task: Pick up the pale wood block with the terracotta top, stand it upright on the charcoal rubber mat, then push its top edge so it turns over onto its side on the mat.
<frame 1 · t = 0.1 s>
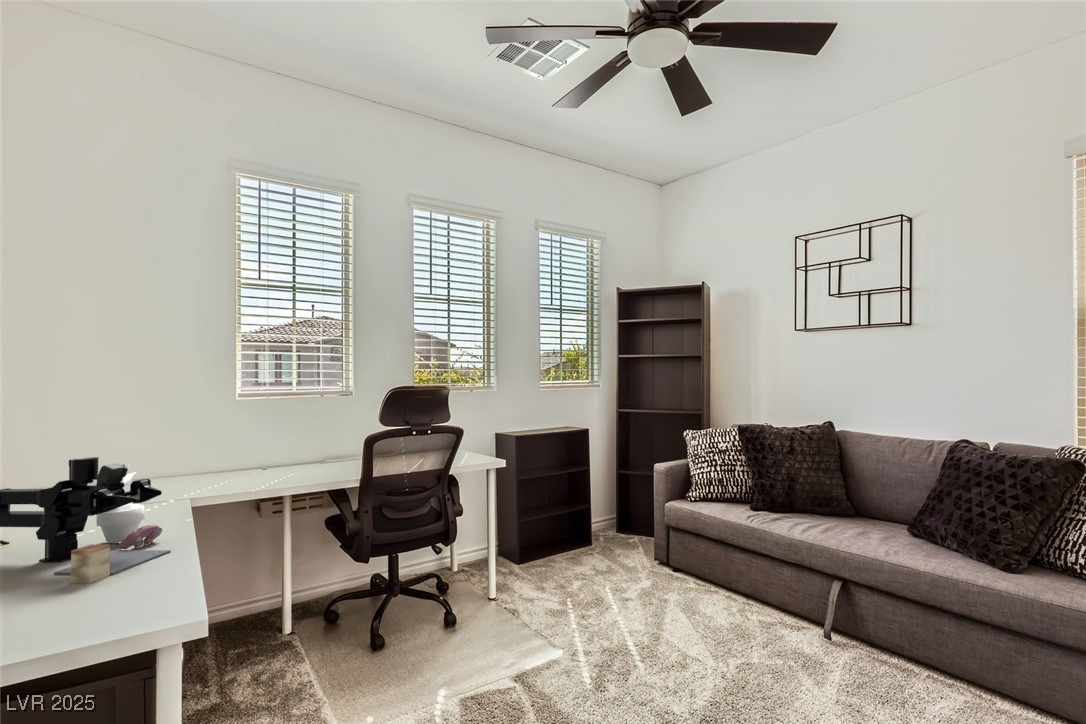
hand: (147, 496, 146), 17 cm above the table, tool horizontal, fingers open, 9 cm apart
video game controller: (141, 546, 158), on the table
rubber mat: (115, 562, 143), on the table
tall block: (90, 579, 130), on the table
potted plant: (122, 541, 164), on the table
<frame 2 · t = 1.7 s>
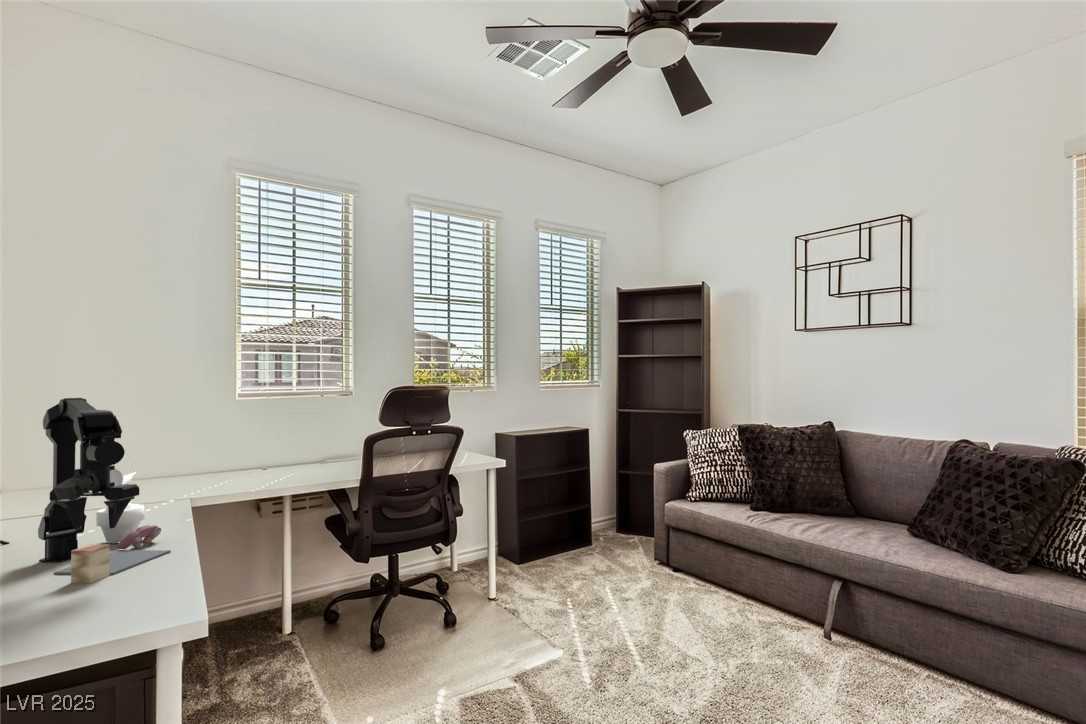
hand: (94, 528, 132), 12 cm above the table, tool pointing down, fingers open, 9 cm apart
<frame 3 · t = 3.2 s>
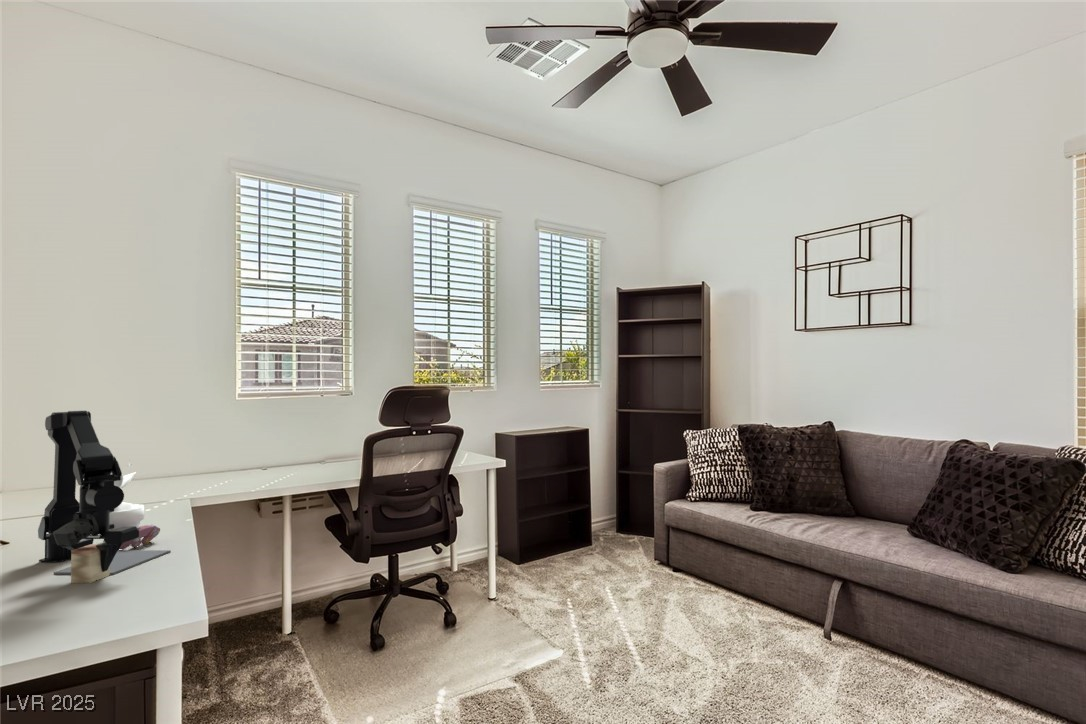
hand: (94, 571, 131), 2 cm above the table, tool pointing down, fingers closed on tall block, 5 cm apart
tall block: (90, 579, 130), on the table, touching gripper
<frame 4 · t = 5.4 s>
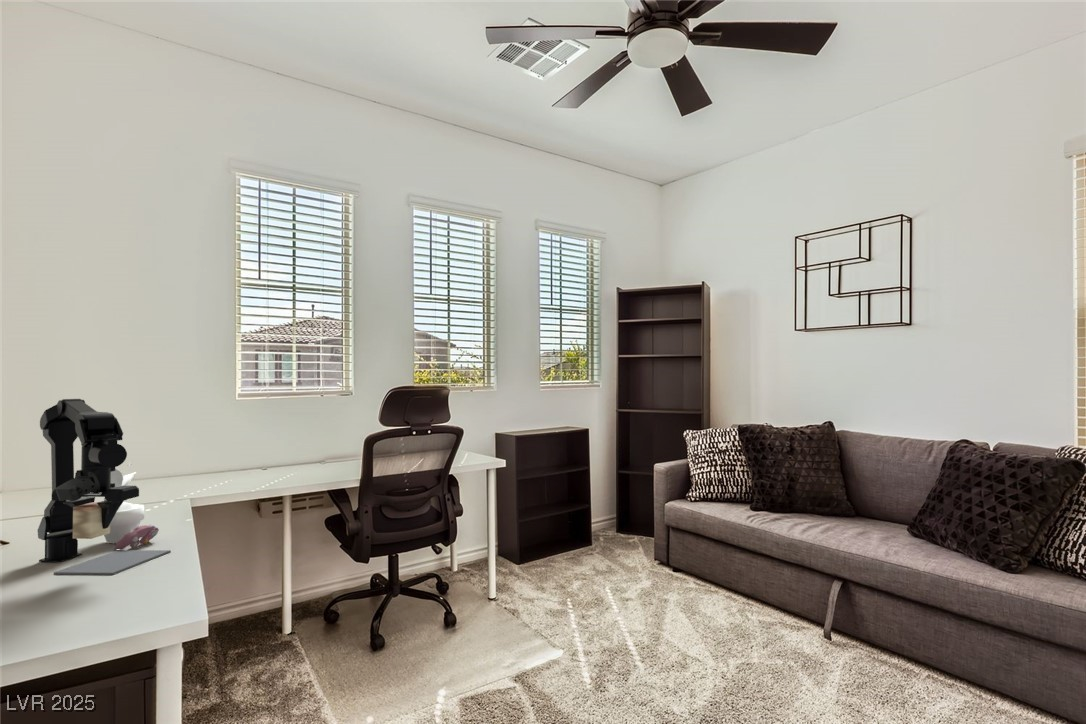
hand: (95, 528, 135), 11 cm above the table, tool pointing down, fingers closed on tall block, 5 cm apart
tall block: (91, 535, 134), point 10 cm above the table, touching gripper
when the fingers open (3 cm above the table, at t = 7.8 s): tall block stays where it is, resting on rubber mat.
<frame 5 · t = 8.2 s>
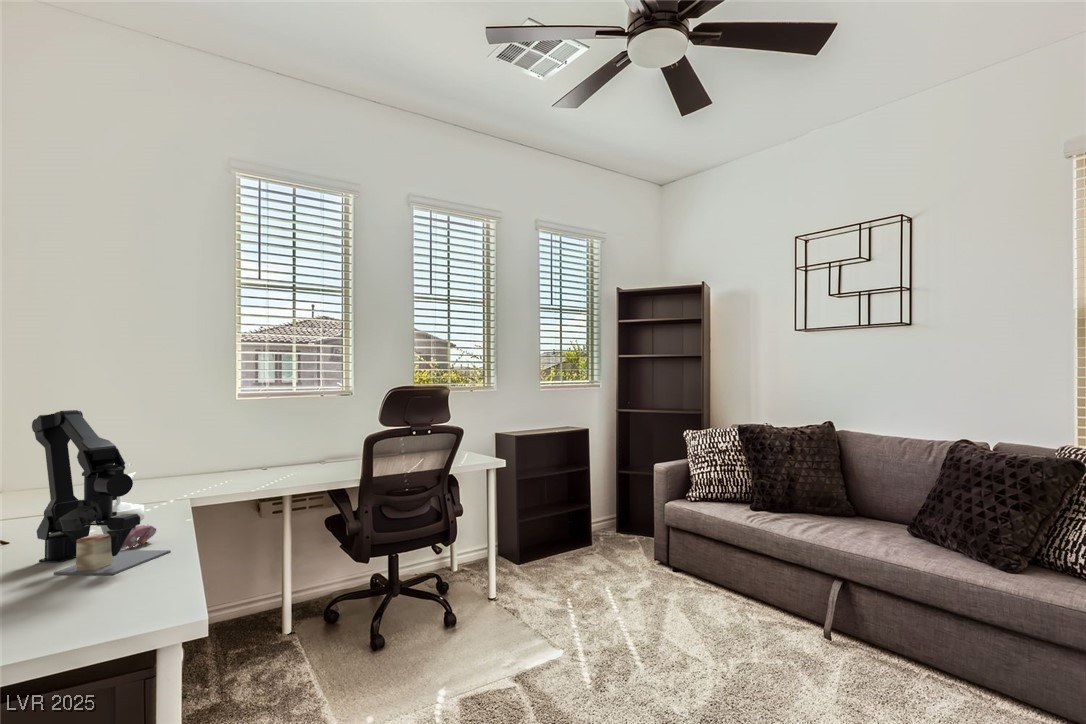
hand: (98, 555, 139), 3 cm above the table, tool pointing down, fingers open, 9 cm apart
tall block: (94, 566, 138), resting on rubber mat
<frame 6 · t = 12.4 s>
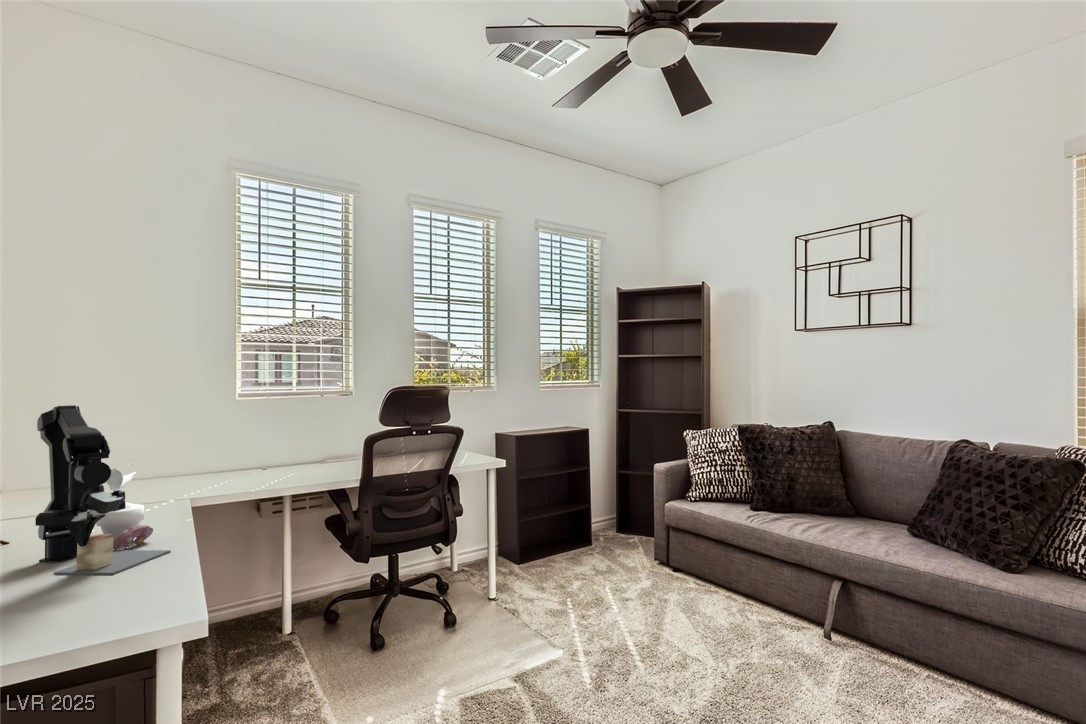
hand: (82, 546, 135), 7 cm above the table, tool pointing down, fingers closed
tall block: (94, 566, 138), point 1 cm above the table, touching gripper, rubber mat
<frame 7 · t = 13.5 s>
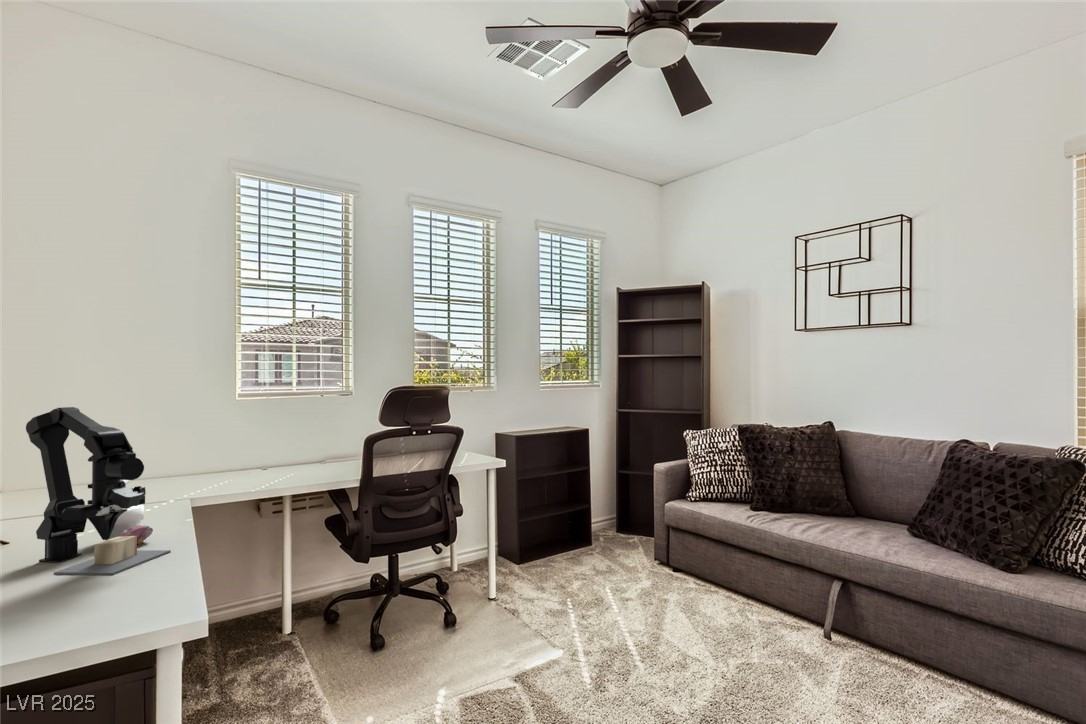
hand: (105, 539, 141), 6 cm above the table, tool pointing down, fingers closed
tall block: (103, 553, 141), point 3 cm above the table, tilted 90°, touching rubber mat
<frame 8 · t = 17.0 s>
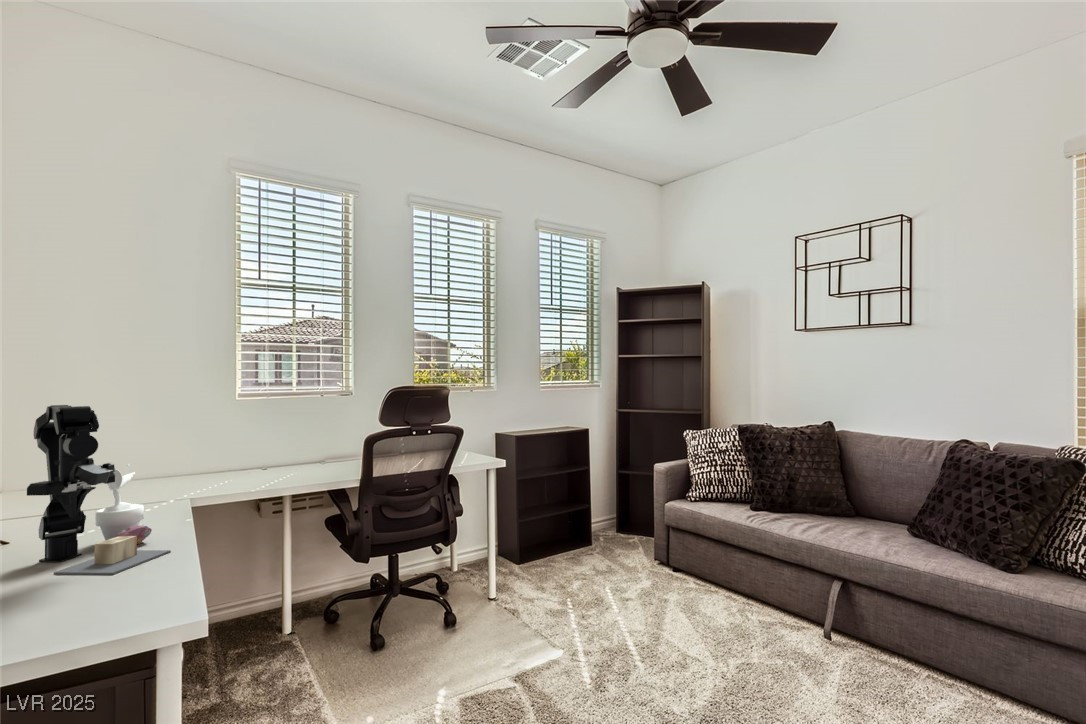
hand: (73, 517, 139), 13 cm above the table, tool pointing down, fingers closed
at the end: tall block tilted 90°; tall block inside the target area on the rubber mat (2.6 cm from its centre), point 3.0 cm above the rubber mat's base; the gripper is holding nothing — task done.
